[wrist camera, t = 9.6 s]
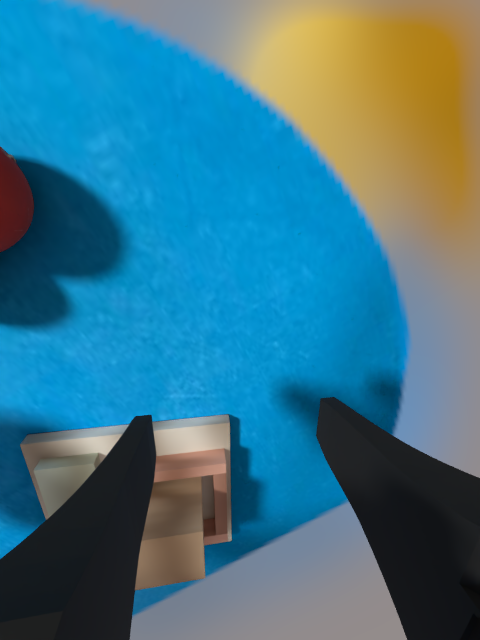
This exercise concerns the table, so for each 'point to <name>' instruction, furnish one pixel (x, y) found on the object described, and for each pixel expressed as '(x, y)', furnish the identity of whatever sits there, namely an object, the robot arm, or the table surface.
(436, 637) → the robot arm
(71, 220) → the table surface
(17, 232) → the kendama
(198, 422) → the puzzle board
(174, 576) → the walnut block
